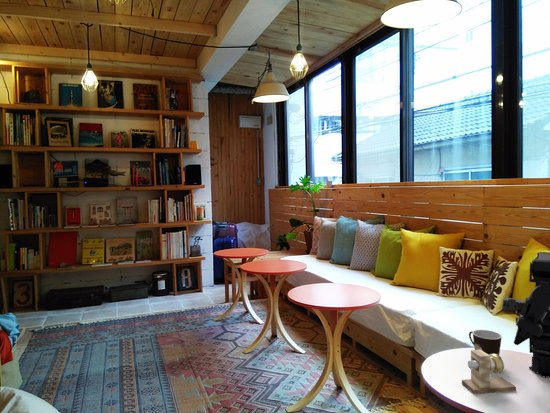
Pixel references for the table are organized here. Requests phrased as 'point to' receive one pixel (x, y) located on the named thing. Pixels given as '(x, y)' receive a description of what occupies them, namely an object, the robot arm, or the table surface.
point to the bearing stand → (485, 377)
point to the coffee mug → (486, 341)
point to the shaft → (495, 364)
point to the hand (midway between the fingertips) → (515, 344)
